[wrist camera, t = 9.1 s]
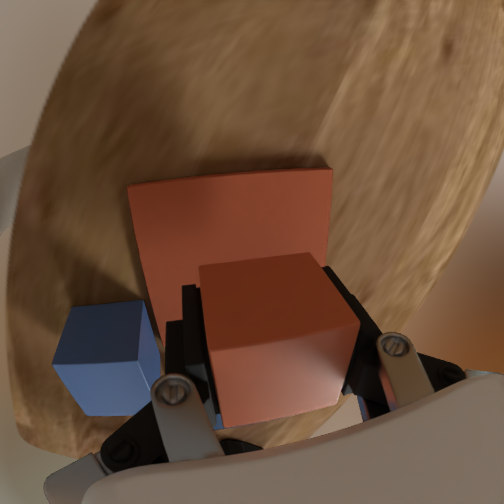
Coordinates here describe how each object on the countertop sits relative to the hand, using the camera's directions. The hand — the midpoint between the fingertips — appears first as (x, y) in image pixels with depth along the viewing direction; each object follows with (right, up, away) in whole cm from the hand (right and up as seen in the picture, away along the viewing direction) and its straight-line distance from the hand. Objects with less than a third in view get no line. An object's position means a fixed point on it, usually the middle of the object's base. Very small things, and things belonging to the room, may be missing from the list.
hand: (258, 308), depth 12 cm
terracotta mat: (-1, +2, +3) cm, 4 cm away
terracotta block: (0, 0, 0) cm, 0 cm away
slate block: (-8, -2, +3) cm, 9 cm away
